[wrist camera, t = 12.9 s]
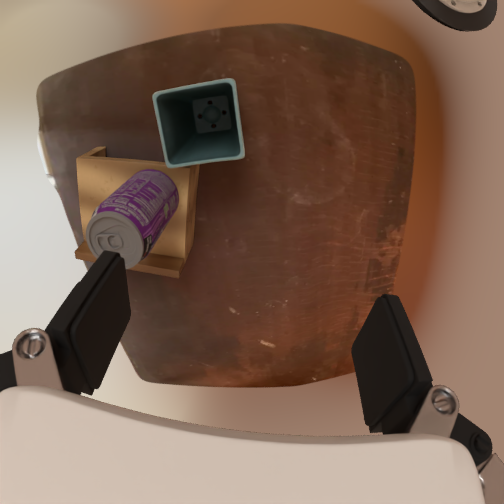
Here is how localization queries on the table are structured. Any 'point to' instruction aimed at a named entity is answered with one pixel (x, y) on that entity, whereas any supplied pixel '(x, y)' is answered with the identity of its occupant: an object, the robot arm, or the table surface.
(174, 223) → the wooden block with backrest
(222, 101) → the flower pot
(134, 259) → the beverage can
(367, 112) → the table surface
